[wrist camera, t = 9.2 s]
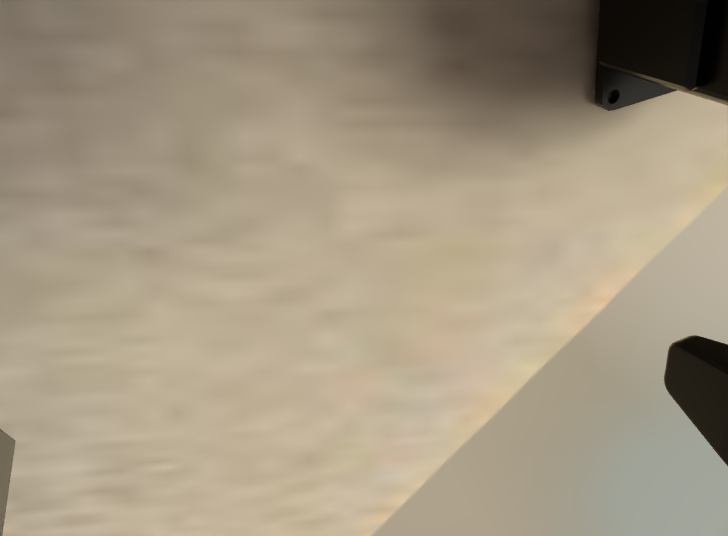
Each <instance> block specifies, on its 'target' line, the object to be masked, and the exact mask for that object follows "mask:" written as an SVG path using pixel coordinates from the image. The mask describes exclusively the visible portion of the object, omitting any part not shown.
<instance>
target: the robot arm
mask: <svg viewBox="0 0 728 536" xmlns="http://www.w3.org/2000/svg"><path fill="white" fill-rule="evenodd" d="M677 90H679V91H682V92H686V93H689V94H692V95H695V96H699V97H702V98H705V99H709V100H712V101H715V102H718V103H722V104H725V105H728V0H600V13H599V31H598V49H597V67H596V85H595V103H596V104H597V106H598V107H601V108H603V109H606V110H608V111H610V110H615V109H619V108H622V107H625V106H628V105H631V104H635V103H638V102H641V101H644V100H648V99H651V98H654V97H657V96H661V95H664V94H667V93H670V92H673V91H677ZM611 91H612V95H611V97H610V98H609V100H608V96H609V94H610V93H611ZM664 382H665V386H666V389H667V390H668V392H669V394H670V395H671V396H672V397H673V399H674V400H675V401H676V402H677V404H678V405H679V406H680V408H681V409H682V410H683V411H684V413H685V414H686V415H687V416H688V418H689V419H690V420H691V421H692V422H693V424H694V425H695V426H696V427H697V429H698V430H699V431H700V432H701V434H702V435H703V436H704V437H705V439H706V440H707V441H708V442H709V444H710V445H711V446H712V447H713V449H714V450H715V451H716V452H717V454H718V455H719V456H720V457H721V458H722V460H723V461H724V462H725V463H726V464H727V466H728V345H727V344H724V343H720V342H717V341H714V340H711V339H707V338H704V337H700V336H688V337H686V338H683V339H681V340H679V341H676V342H674V343H672V344H671V346H670V347H669V350H668V357H667V363H666V369H665V375H664Z"/></svg>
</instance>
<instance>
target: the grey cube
mask: <svg viewBox="0 0 728 536" xmlns="http://www.w3.org/2000/svg"><path fill="white" fill-rule="evenodd" d="M14 448H15V440H14V439H13V438H11V437H10V436H9V435H8V434H6V433H5V432H4V431H2V430H1V429H0V536H2V533H3V526H4V519H5V512H6V505H7V498H8V491H9V483H10V476H11V469H12V462H13V455H14Z"/></svg>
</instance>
